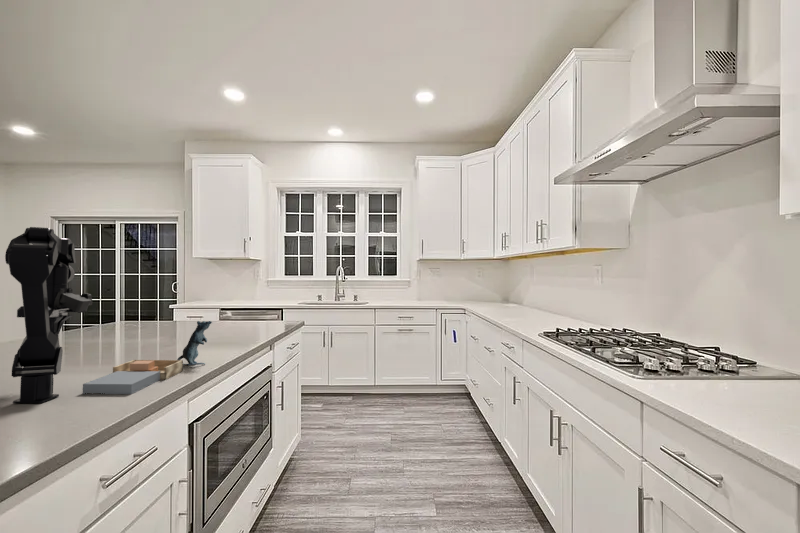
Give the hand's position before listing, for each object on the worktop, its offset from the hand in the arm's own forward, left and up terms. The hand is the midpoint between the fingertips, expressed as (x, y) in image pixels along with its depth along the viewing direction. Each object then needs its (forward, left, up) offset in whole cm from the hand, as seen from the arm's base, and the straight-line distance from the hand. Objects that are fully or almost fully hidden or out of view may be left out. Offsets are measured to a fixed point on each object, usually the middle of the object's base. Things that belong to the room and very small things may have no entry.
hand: (52, 341), depth 123 cm
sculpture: (+31, -26, -12) cm, 42 cm away
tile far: (+13, -19, -12) cm, 25 cm away
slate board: (0, -19, -12) cm, 22 cm away
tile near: (+12, -18, -10) cm, 24 cm away
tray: (+14, -19, -12) cm, 27 cm away
